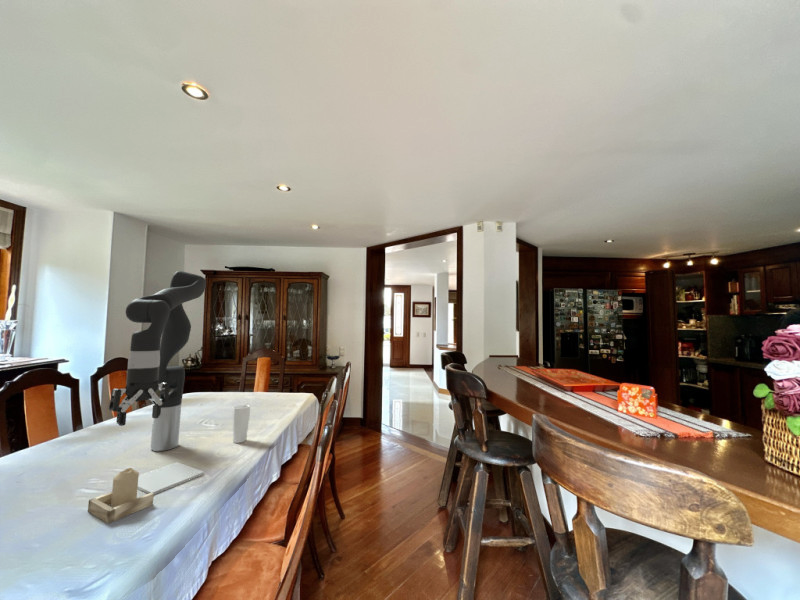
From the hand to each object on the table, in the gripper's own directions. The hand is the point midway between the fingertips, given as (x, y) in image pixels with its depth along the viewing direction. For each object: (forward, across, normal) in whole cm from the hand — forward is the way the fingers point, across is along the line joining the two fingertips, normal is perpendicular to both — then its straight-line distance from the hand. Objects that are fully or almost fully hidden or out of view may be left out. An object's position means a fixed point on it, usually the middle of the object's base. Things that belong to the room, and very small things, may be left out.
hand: (139, 421), depth 95 cm
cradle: (+23, +2, 0) cm, 23 cm away
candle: (+23, +2, 0) cm, 23 cm away
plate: (+22, -13, -7) cm, 27 cm away
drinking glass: (+22, -48, -16) cm, 55 cm away
